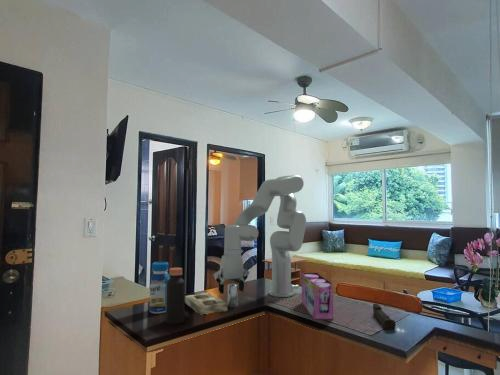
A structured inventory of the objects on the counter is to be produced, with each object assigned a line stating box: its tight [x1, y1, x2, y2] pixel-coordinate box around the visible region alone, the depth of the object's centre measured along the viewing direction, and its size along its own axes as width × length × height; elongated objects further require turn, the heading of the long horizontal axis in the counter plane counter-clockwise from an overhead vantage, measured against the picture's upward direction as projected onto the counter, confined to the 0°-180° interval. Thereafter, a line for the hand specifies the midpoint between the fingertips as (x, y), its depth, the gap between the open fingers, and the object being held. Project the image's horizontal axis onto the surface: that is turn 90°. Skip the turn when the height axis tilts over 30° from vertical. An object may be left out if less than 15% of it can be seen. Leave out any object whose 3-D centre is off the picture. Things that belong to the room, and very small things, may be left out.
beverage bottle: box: [148, 261, 170, 314], centre depth 135 cm, size 8×8×20 cm
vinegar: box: [165, 267, 186, 326], centre depth 122 cm, size 7×7×20 cm
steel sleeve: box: [227, 283, 239, 308], centre depth 141 cm, size 4×4×9 cm
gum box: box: [301, 272, 334, 320], centre depth 135 cm, size 24×8×14 cm, turn 4°
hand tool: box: [372, 303, 396, 331], centre depth 122 cm, size 19×4×5 cm, turn 172°
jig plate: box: [184, 292, 228, 316], centre depth 140 cm, size 12×20×3 cm, turn 30°
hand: (231, 291), depth 141 cm, fingers open, 9 cm apart
